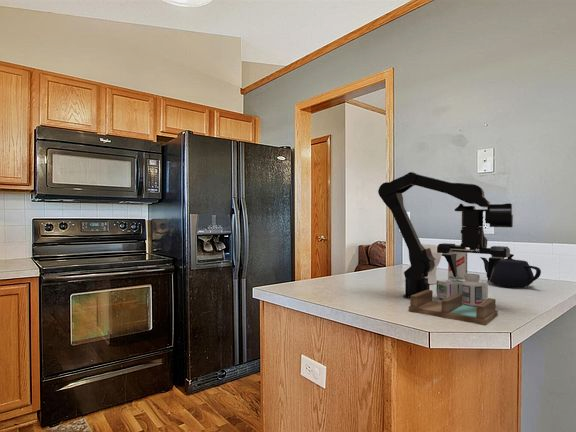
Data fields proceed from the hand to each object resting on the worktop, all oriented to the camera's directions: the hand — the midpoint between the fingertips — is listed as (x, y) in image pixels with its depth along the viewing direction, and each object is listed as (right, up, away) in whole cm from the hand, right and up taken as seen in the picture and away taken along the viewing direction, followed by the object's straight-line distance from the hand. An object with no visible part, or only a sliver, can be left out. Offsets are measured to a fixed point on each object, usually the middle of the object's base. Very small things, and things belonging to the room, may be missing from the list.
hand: (471, 279), depth 107 cm
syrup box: (+8, -5, +9) cm, 13 cm away
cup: (+1, -8, +37) cm, 38 cm away
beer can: (+6, -8, +21) cm, 24 cm away
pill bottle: (0, -8, 0) cm, 8 cm away
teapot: (+31, -8, +33) cm, 46 cm away
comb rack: (-11, -7, -11) cm, 17 cm away
